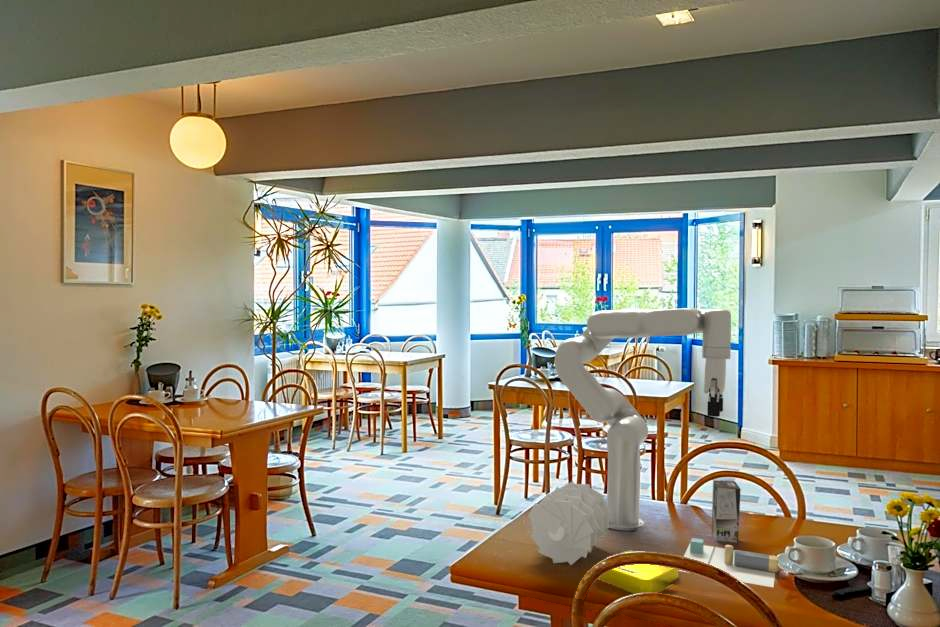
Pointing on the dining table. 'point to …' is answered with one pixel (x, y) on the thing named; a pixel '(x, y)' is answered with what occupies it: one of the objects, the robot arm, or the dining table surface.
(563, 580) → the dining table surface
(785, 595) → the dining table surface
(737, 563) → the bar
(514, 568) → the dining table surface
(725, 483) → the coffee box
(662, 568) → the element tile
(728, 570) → the latch board
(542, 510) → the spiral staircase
